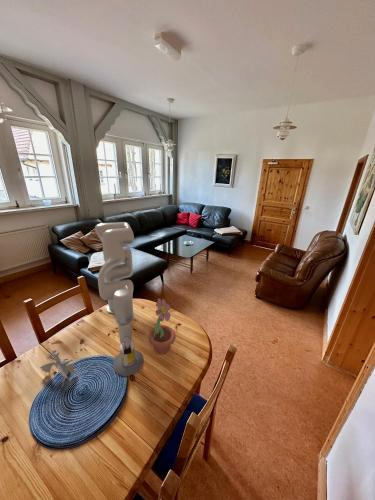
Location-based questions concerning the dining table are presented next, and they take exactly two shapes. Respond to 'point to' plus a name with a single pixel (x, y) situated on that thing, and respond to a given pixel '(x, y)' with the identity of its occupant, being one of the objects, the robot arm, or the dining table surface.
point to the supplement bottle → (127, 355)
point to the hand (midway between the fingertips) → (126, 344)
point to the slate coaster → (130, 369)
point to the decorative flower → (161, 330)
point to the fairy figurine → (59, 365)
